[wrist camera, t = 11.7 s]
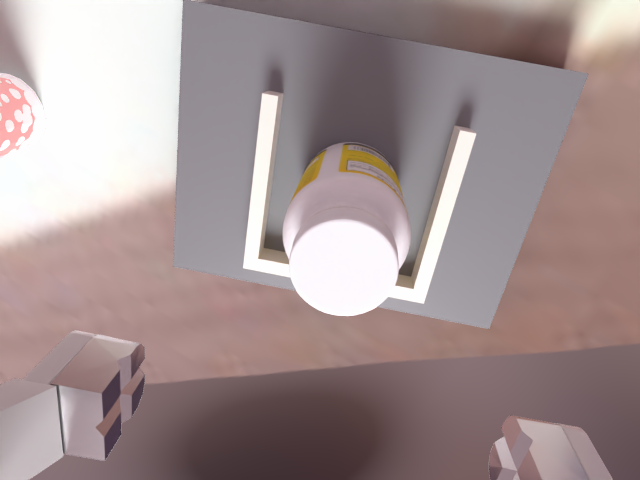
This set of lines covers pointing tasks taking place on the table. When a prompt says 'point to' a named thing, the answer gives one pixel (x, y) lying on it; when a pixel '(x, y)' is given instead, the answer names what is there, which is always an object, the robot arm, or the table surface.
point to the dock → (370, 129)
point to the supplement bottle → (346, 230)
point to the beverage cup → (19, 115)
